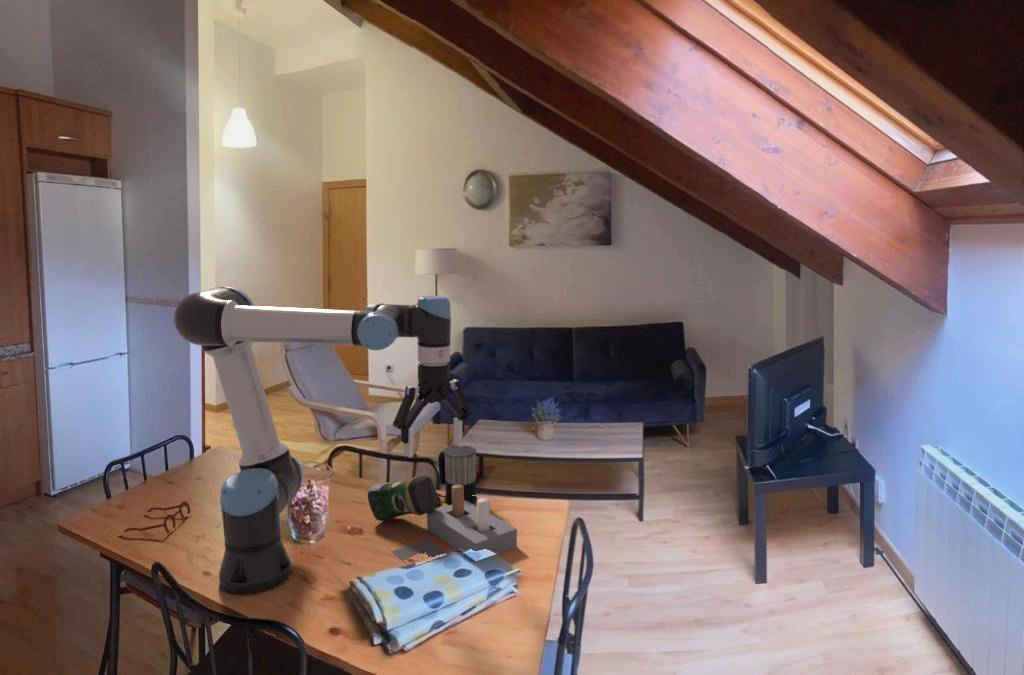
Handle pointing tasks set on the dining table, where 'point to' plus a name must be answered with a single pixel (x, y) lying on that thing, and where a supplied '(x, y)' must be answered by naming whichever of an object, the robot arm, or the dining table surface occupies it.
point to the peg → (483, 515)
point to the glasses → (165, 517)
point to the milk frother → (458, 472)
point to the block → (469, 526)
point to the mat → (418, 550)
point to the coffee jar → (403, 498)
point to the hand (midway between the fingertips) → (433, 450)
